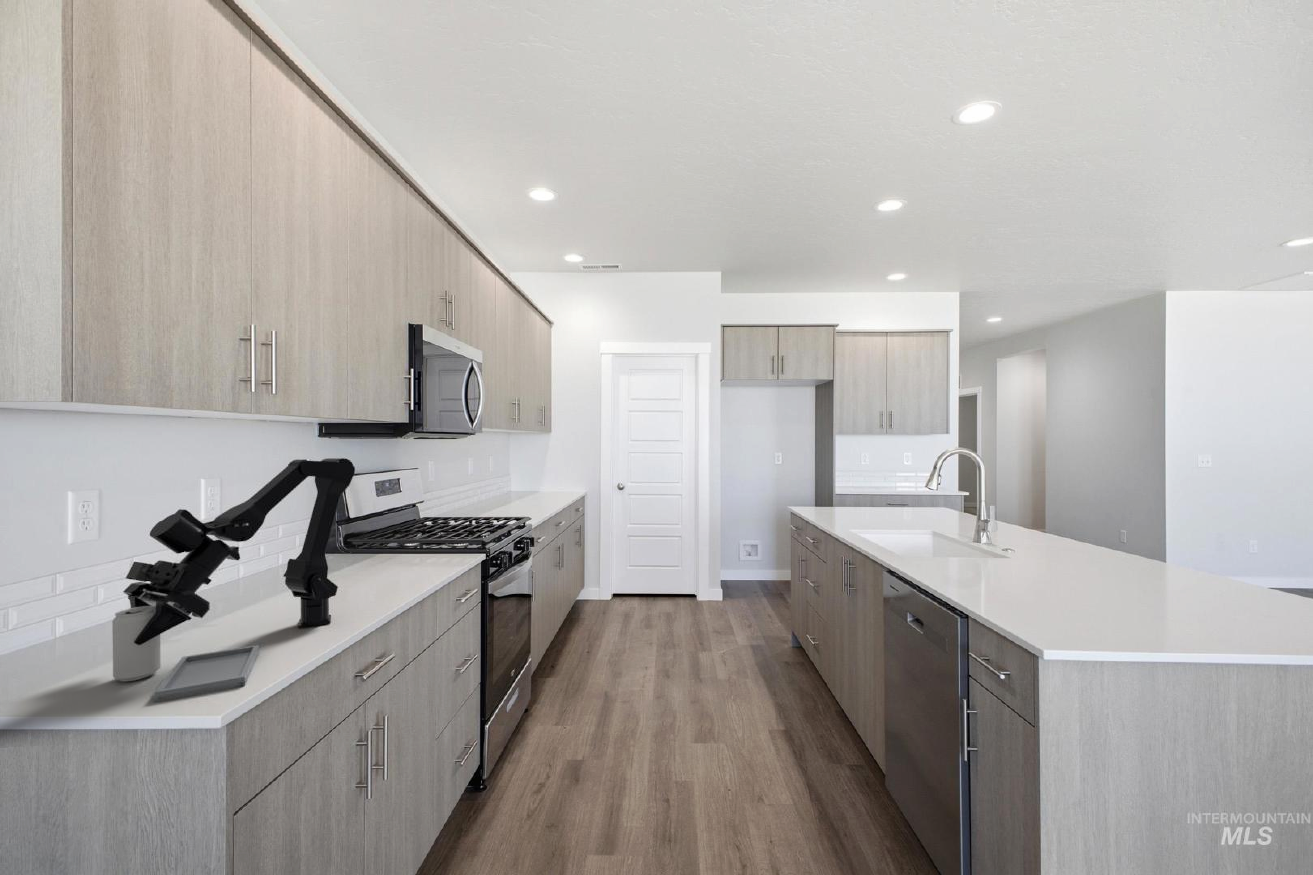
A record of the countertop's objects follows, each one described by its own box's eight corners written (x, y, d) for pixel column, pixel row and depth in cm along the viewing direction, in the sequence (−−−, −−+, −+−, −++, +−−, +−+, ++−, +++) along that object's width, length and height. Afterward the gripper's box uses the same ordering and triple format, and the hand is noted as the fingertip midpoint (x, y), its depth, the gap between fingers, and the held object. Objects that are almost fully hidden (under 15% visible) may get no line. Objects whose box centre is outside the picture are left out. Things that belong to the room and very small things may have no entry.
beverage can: (104, 685, 98) (103, 616, 99) (127, 670, 105) (126, 606, 105) (148, 680, 100) (146, 613, 100) (168, 666, 106) (167, 603, 106)
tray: (182, 665, 108) (182, 656, 108) (258, 652, 114) (258, 645, 114) (154, 702, 92) (154, 692, 92) (244, 685, 98) (244, 676, 98)
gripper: (135, 540, 110) (58, 613, 100) (189, 546, 102) (111, 626, 92) (184, 571, 117) (116, 642, 107) (237, 579, 109) (170, 656, 99)
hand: (127, 641), depth 101 cm, fingers closed on beverage can, 6 cm apart
